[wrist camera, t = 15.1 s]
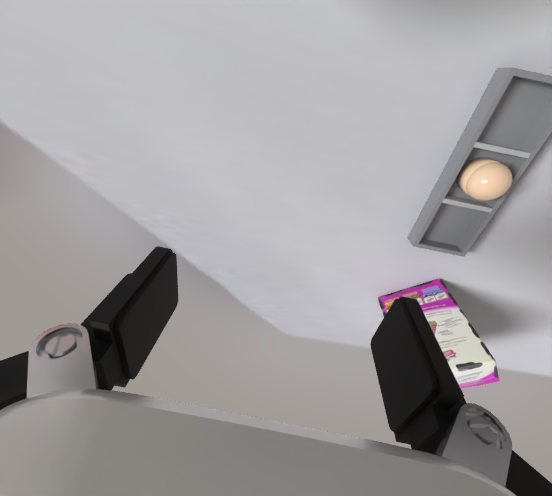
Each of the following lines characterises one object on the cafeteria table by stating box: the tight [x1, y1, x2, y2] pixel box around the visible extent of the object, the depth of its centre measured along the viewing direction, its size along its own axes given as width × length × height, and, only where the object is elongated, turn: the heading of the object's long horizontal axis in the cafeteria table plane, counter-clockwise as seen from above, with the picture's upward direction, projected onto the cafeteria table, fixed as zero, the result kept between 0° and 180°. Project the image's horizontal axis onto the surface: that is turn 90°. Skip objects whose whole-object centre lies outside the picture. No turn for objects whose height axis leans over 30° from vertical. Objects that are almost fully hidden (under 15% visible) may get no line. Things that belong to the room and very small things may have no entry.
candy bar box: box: [378, 279, 499, 389], centre depth 42 cm, size 11×5×16 cm, turn 119°
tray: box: [408, 68, 552, 256], centre depth 35 cm, size 23×8×3 cm, turn 170°
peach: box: [457, 157, 512, 201], centre depth 34 cm, size 5×5×5 cm
